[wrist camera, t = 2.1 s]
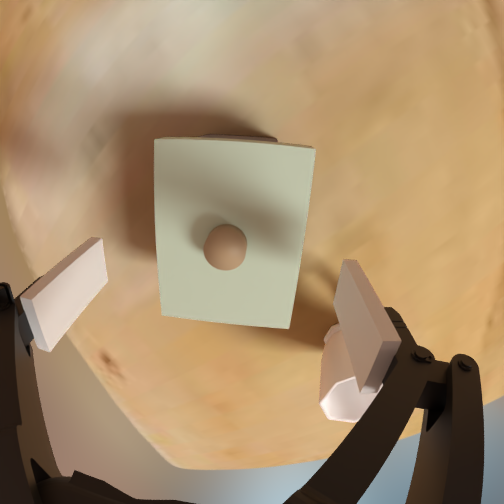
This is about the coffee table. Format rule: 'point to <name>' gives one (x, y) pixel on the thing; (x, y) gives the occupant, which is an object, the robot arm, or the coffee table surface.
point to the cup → (340, 381)
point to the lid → (230, 227)
